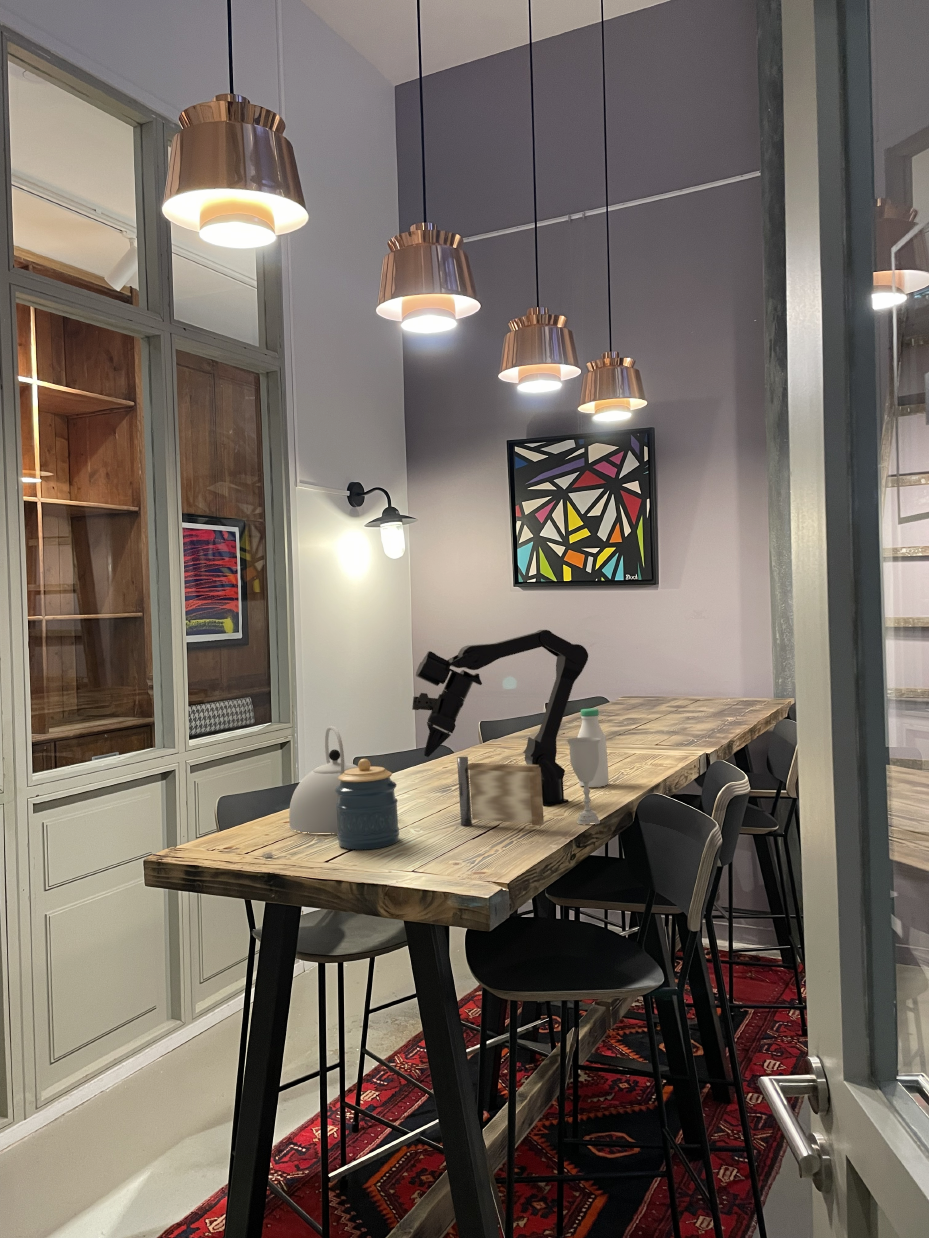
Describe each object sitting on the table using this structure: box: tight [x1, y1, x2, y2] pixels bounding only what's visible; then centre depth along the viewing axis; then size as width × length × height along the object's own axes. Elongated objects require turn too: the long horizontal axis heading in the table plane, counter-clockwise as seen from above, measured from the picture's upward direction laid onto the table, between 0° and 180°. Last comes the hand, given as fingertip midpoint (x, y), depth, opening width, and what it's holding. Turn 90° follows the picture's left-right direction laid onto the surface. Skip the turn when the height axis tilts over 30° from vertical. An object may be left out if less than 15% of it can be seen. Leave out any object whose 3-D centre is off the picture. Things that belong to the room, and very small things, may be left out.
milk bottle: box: [577, 708, 610, 788], centre depth 238 cm, size 8×8×20 cm
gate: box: [468, 762, 545, 827], centre depth 197 cm, size 17×2×12 cm, turn 60°
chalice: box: [566, 737, 601, 825], centre depth 198 cm, size 7×7×18 cm
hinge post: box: [456, 756, 473, 827], centre depth 202 cm, size 2×2×15 cm
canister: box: [335, 758, 400, 851], centre depth 192 cm, size 13×13×18 cm
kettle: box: [288, 725, 358, 833], centre depth 214 cm, size 25×23×23 cm
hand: (426, 755), depth 214 cm, fingers open, 9 cm apart
